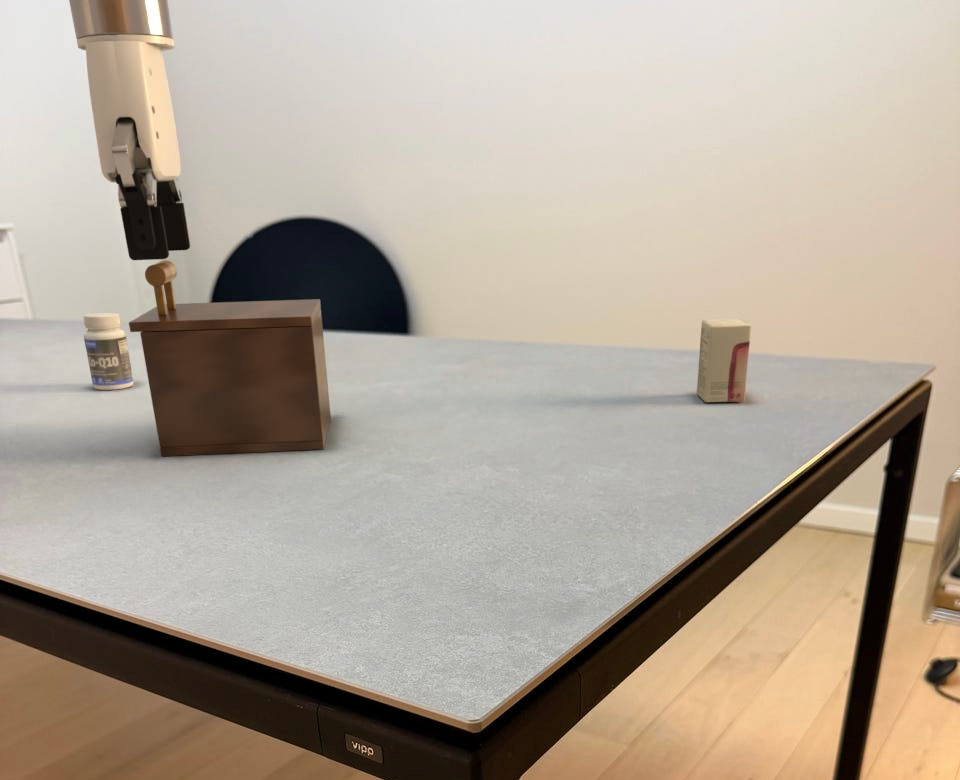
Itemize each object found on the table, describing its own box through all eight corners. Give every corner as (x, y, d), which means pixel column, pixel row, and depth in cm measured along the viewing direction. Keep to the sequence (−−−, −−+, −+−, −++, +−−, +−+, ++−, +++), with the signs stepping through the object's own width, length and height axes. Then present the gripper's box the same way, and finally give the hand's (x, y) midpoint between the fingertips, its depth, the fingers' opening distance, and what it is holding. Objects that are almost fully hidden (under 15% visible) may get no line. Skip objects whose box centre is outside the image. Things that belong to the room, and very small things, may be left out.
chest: (161, 456, 86) (139, 332, 81) (187, 423, 97) (169, 313, 92) (323, 449, 87) (312, 326, 82) (330, 418, 98) (320, 308, 93)
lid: (130, 332, 81) (119, 269, 79) (161, 312, 92) (152, 257, 90) (312, 325, 82) (306, 263, 80) (320, 307, 93) (315, 253, 91)
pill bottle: (87, 390, 114) (72, 317, 110) (102, 382, 118) (89, 311, 114) (126, 390, 113) (112, 316, 110) (140, 382, 118) (127, 311, 114)
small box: (745, 402, 100) (753, 324, 97) (704, 403, 101) (710, 325, 97) (734, 393, 105) (741, 318, 101) (695, 393, 105) (701, 319, 102)
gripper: (104, 41, 84) (141, 249, 92) (41, 12, 69) (92, 265, 77) (190, 38, 85) (219, 245, 92) (146, 10, 69) (186, 261, 77)
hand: (161, 254), depth 85 cm, fingers open, 9 cm apart
